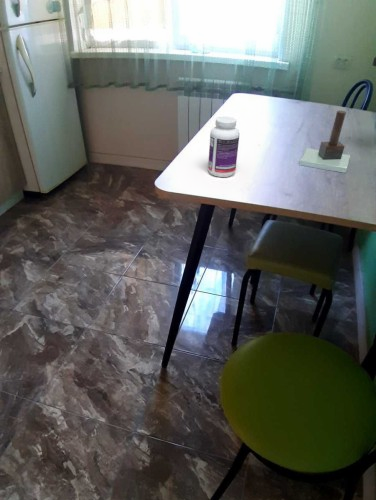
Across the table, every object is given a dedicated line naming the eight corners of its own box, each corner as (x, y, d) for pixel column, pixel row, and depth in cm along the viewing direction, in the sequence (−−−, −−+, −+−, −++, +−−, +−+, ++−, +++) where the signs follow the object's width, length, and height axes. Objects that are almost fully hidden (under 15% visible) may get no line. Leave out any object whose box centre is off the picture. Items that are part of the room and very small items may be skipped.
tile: (349, 159, 132) (350, 155, 131) (345, 173, 124) (347, 168, 123) (305, 152, 135) (306, 147, 134) (299, 165, 127) (300, 160, 126)
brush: (335, 154, 131) (348, 109, 122) (340, 159, 128) (354, 113, 119) (317, 155, 130) (329, 109, 121) (322, 159, 127) (334, 113, 118)
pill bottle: (240, 173, 121) (247, 119, 111) (224, 180, 116) (229, 126, 106) (218, 165, 124) (223, 113, 114) (202, 172, 120) (205, 119, 110)
